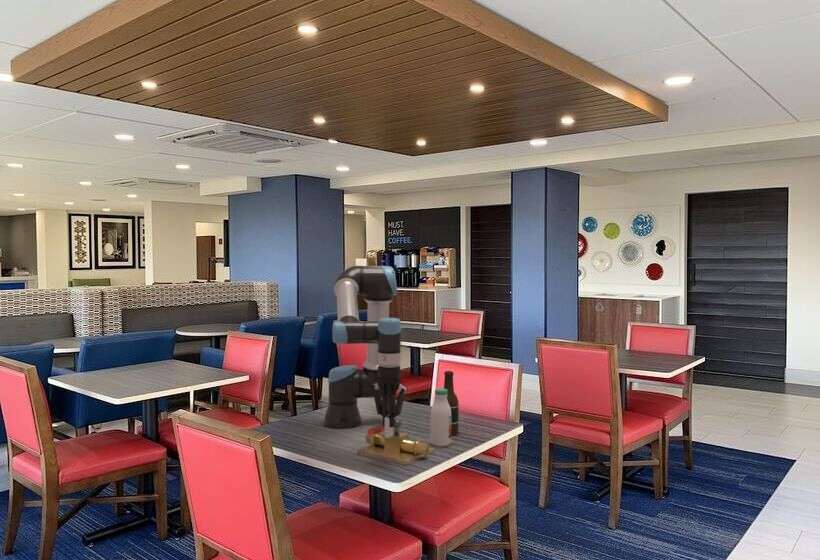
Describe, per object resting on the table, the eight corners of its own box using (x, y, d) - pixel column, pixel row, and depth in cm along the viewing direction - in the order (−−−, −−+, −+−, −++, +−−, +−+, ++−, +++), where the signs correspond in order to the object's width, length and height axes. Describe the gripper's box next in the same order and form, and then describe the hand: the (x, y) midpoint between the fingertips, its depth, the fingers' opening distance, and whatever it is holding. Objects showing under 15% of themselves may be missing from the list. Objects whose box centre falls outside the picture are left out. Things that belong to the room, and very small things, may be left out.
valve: (353, 453, 216) (353, 425, 216) (383, 441, 231) (384, 415, 231) (411, 466, 203) (411, 437, 202) (439, 452, 218) (440, 425, 217)
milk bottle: (444, 448, 223) (445, 392, 222) (426, 444, 227) (426, 389, 226) (455, 443, 229) (455, 388, 229) (436, 439, 233) (437, 386, 233)
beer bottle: (456, 436, 238) (457, 373, 237) (436, 435, 239) (437, 372, 239) (459, 431, 245) (460, 370, 245) (439, 429, 247) (440, 369, 246)
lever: (395, 423, 219) (395, 418, 219) (403, 424, 217) (403, 420, 217) (366, 433, 205) (366, 429, 205) (374, 435, 203) (374, 430, 203)
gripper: (366, 365, 205) (365, 436, 206) (401, 368, 199) (400, 442, 200) (377, 362, 212) (377, 431, 213) (412, 365, 206) (411, 436, 207)
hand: (388, 436), depth 206 cm, fingers closed
